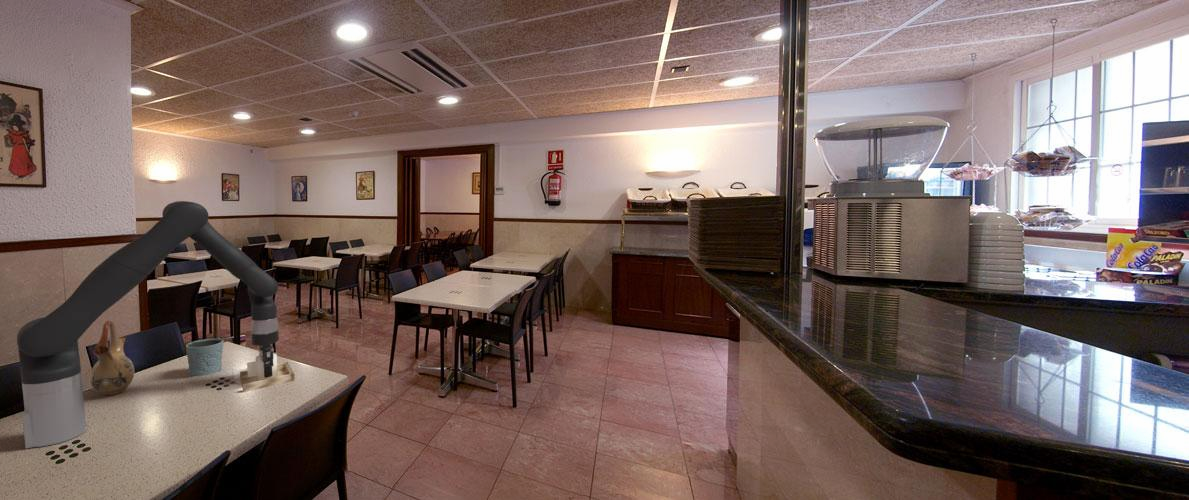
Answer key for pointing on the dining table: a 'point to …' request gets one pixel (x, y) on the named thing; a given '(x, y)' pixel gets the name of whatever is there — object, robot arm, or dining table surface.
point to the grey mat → (238, 373)
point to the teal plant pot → (204, 356)
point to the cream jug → (261, 368)
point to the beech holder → (252, 384)
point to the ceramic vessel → (111, 364)
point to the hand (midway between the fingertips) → (267, 373)
